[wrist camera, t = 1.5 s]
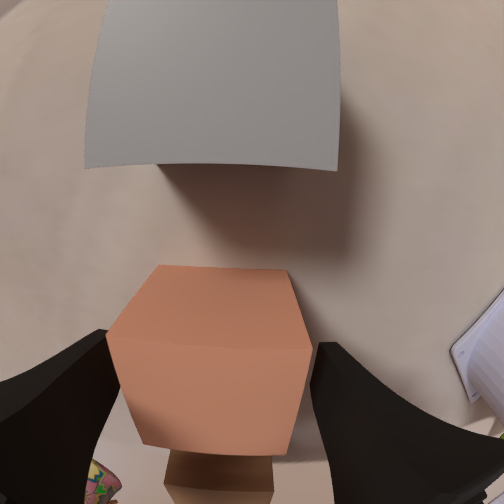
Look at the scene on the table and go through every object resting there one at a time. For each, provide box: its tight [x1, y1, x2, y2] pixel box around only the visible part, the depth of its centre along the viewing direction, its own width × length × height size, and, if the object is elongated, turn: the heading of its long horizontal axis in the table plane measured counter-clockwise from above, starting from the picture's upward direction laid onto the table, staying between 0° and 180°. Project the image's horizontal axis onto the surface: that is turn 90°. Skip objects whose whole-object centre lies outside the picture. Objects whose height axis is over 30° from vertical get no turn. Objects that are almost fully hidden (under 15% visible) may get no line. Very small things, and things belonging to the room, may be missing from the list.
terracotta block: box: [106, 265, 313, 456], centre depth 9 cm, size 5×5×5 cm
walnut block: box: [164, 449, 274, 504], centre depth 12 cm, size 5×5×5 cm
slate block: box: [85, 0, 340, 171], centre depth 6 cm, size 5×5×5 cm
